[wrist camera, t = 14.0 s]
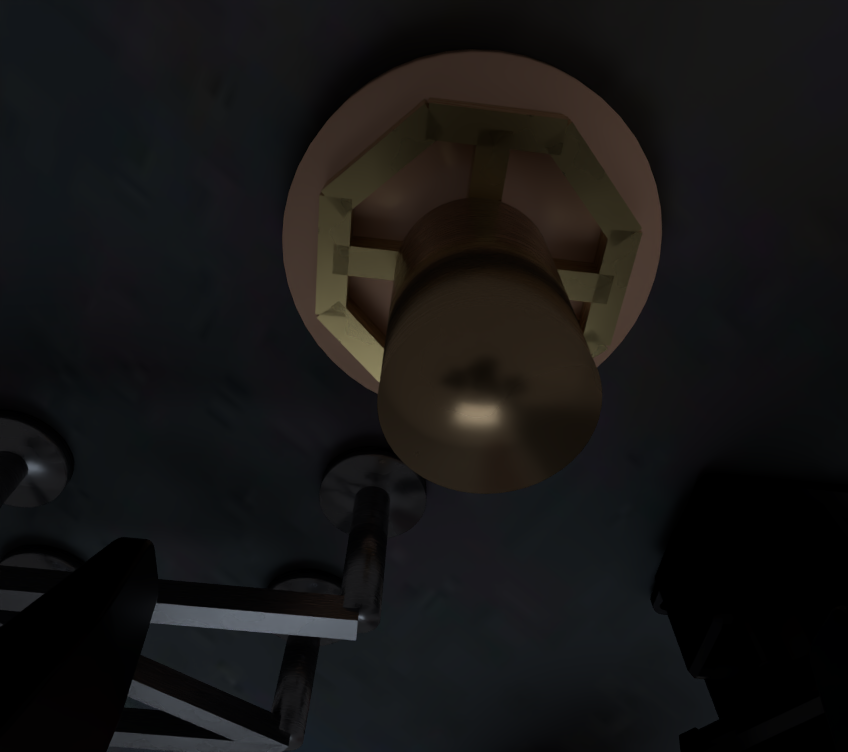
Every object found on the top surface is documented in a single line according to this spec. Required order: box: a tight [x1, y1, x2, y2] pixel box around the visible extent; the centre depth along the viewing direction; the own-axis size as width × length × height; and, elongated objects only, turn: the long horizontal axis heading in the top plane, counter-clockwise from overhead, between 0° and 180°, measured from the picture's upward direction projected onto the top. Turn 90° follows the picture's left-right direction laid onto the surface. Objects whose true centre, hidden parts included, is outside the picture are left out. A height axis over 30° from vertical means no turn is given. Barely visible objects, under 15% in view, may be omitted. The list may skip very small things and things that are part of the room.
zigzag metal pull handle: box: [0, 410, 426, 752], centre depth 22 cm, size 16×10×6 cm, turn 84°
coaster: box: [282, 49, 662, 394], centre depth 19 cm, size 10×10×1 cm
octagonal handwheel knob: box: [315, 97, 643, 494], centre depth 15 cm, size 8×8×7 cm
